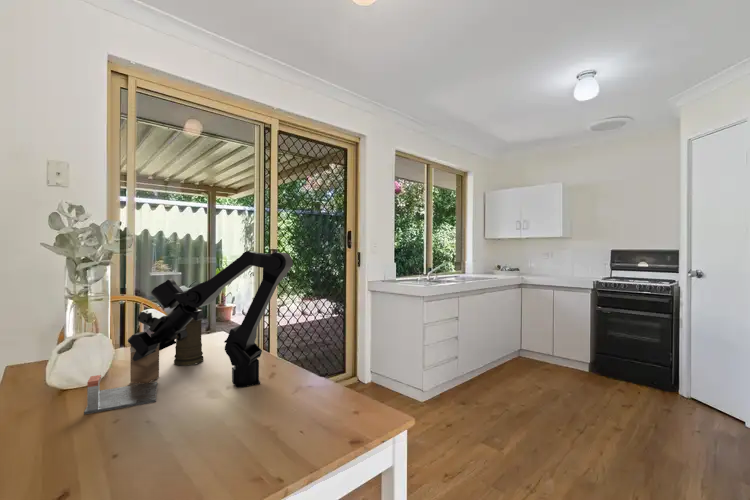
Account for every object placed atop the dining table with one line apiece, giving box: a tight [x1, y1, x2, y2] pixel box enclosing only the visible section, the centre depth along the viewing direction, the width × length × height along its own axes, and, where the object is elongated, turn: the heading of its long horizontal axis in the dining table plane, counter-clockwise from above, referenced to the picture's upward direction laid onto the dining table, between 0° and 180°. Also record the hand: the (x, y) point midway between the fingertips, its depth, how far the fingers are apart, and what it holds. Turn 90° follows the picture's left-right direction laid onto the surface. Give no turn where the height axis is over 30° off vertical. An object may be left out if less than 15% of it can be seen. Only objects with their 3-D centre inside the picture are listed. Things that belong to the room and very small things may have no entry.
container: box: [173, 306, 204, 367], centre depth 121 cm, size 9×9×18 cm
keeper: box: [83, 374, 158, 416], centre depth 92 cm, size 14×14×7 cm
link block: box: [129, 344, 160, 384], centre depth 104 cm, size 5×5×11 cm
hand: (140, 357), depth 104 cm, fingers closed on link block, 5 cm apart
